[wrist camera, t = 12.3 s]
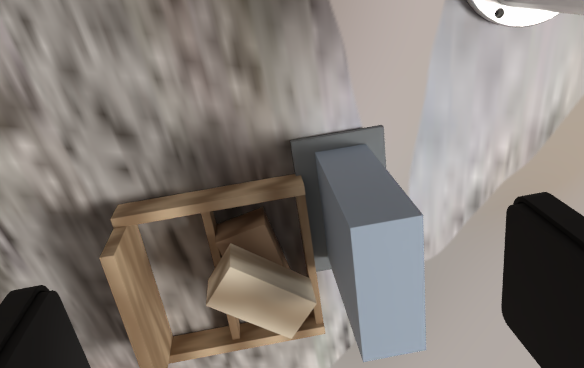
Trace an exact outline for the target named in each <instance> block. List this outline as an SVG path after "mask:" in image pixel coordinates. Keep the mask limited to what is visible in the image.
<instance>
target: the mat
mask: <svg viewBox="0 0 584 368" xmlns="http://www.w3.org/2000/svg"><path fill="white" fill-rule="evenodd" d="M290 143H291V150H292V156H293V163H294V170H295V175H296V176H300V175H301V177H302V180H303V183H304V187H305V194H306V195H305V198H306V205H307V212H308V219H309V226H310V233H311V240H312V247H313V254H314V261H315V268H316V272H318V271H323V270H329V269H332V268H331V265H330V262H329V259H328V254H327V246H326V238H325V230H324V221H323V213H322V205H321V197H320V189H319V181H318V173H317V165H316V157H315V152H320V151H326V150H332V149H338V148H344V147H350V146H356V145H362V144H366V145H367V146H368V147H369V148H370V150H371V151H372V152H373V153H374V155H375V156H376V157H377V158H378V160H379V161H380V162H381V163H382V165H383V166H384V167H385V168H386V159H385V142H384V127H383V126H382V125H379V126H372V127H367V128H361V129H355V130H349V131H343V132H337V133H332V134H326V135H320V136H314V137H308V138H302V139H296V140H291V141H290Z"/></svg>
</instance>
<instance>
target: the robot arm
mask: <svg viewBox="0 0 584 368" xmlns="http://www.w3.org/2000/svg"><path fill="white" fill-rule="evenodd" d="M467 1H468V3H469V4H470V6H471V7H472V8H473V9H474V10H475V11H476V12H477V13H478V14H479V15H481V16H482V17H483V18H485V19H486V20H488V21H491V22H493V23H495V24H498V25H503V26H508V27H526V26H532V25H536V24H539V23H541V22H544V21H547V20H549V19H550V18H552V17H554V16H556V15H557V14H559V13H567V14H577V15H584V0H467ZM495 11H497V13H496V15H495ZM503 270H504V271H503V288H502V313H503V317H504V320H505V322H506V323H507V325H508V326H509V328H510V329H511V330H512V331H513V333H514V334H515V335H516V336H517V338H518V339H519V340H520V341H521V343H522V344H523V345H524V347H525V348H526V349H527V350H528V352H529V353H530V354H531V355H532V357H533V358H534V359H535V360H536V362H537V363H538V364H539V365H540V367H541V368H584V216H582V215H581V214H579V213H578V212H576V211H575V210H574V209H572V208H570V207H569V206H568V205H566V204H565V203H563V202H562V201H560V200H559V199H557V198H556V197H554V196H553V195H551V194H549V193H547V192H542V193H537V194H531V195H525V196H521V197H517V198H516V199H515V201H514V203H513V205H510V206H509V207H508V209H507V215H506V233H505V251H504V269H503ZM0 368H91V367H90V365H89V363H88V361H87V358H86V356H85V354H84V351H83V349H82V347H81V345H80V342H79V340H78V338H77V335H76V333H75V331H74V329H73V326H72V324H71V322H70V319H69V317H68V315H67V313H66V310H65V308H64V306H63V303H62V301H61V299H60V297H59V295H58V293H57V292H56V291H53V290H52V291H49V289H48V288H47V287H46V286H43V285H39V286H34V287H29V288H23V289H18V290H13V291H11V292H10V293H9V294H8V295H7V296H6V297H5V299H4V300H3V301H2V303H1V304H0Z"/></svg>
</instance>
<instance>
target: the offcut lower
mask: <svg viewBox="0 0 584 368" xmlns="http://www.w3.org/2000/svg"><path fill="white" fill-rule="evenodd" d="M230 243H231V244H233V245H236V246H238V247H240V248H242V249H245V250H247V251H249V252H251V253H254V254H256V255H258V256H261V257H263V258H265V259H267V260H270V261H272V262H274V263H276V264H279V265H281V266H283V267H285V268H288V269H290V267H289V265H288V263H287V260H286V258H285V256H284V254H283V251H282V249H281V247H280V245H279V242H278V240H277V238H276V236H275V234H274V231H273V229H272V227H271V225H270V222H269V220H268V218H267V216H266V213H265V211H264V209H263V207H261V208H259V209H256V210H253V211H251V212H248V213H246V214H243V215H240V216H238V217H235V218H232V219H230V220H227V221H225V222H222V223H219V224H217V230H216V245H217V247H218V249H219V251H220V253H221V255H222V256H223V255H224V253H225V251H226V250H227V248H228V247H229V245H230ZM290 270H291V269H290Z"/></svg>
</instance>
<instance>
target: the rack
mask: <svg viewBox="0 0 584 368" xmlns="http://www.w3.org/2000/svg"><path fill="white" fill-rule="evenodd" d="M305 195H306V194H305V187H304V183H303V180H302V177H301V175H300V176H296V175H295V174H291V175H285V176H280V177H274V178H268V179H263V180H257V181H251V182H245V183H240V184H234V185H228V186H222V187H217V188H211V189H205V190H199V191H194V192H188V193H182V194H176V195H171V196H165V197H159V198H154V199H148V200H142V201H136V202H131V203H125V204H119V205H118V206H117V208H116V209H115V211H114V213H113V215H112V217H111V222H112V225H113V228H114V229H113V231H112V233H111V235H110V237H109V239H108V241H107V243H106V245H105V247H104V249H103V251H102V253H101V256H100V258H99V259H100V261H101V264H102V267H103V269H104V272H105V275H106V278H107V280H108V283H109V286H110V288H111V291H112V294H113V296H114V299H115V302H116V305H117V307H118V310H119V313H120V315H121V318H122V321H123V323H124V326H125V329H126V331H127V334H128V337H129V340H130V342H131V345H132V348H133V350H134V353H135V356H136V358H137V361H138V364H139V367H140V368H168V364H169V363H174V362H180V361H185V360H190V359H195V358H201V357H206V356H211V355H216V354H221V353H227V352H232V351H237V350H242V349H248V348H253V347H258V346H263V345H269V344H274V343H279V342H284V341H290V340H295V339H300V338H305V337H311V336H316V335H321V334H325V328H324V323H323V317H322V310H321V303H320V296H319V289H318V282H317V275H316V268H315V261H314V254H313V247H312V240H311V233H310V226H309V219H308V212H307V205H306V198H305ZM295 196H296V203H297V209H298V216H299V223H300V229H301V236H302V242H303V249H304V255H305V262H306V268H307V275H308V278H310V279H311V283H312V287H313V291H314V295H315V299H316V303H317V304H316V305H315V307H314V308H313V310H312V311H311V312H310V314H309V315H308V317H307V318H306V319H305V321H304V322H303V324H302V325H301V326H300V328H299V329H298V331H297V332H296V333H295V335H294V336H293V338H292V339H290V338H288V337H285V336H282V335H280V334H277V333H275V332H272V331H270V330H267V329H265V328H262V327H259V326H257V325H254V324H252V323H249V322H247V323H241V324H240V322H239V318H236V317H234V316H231V315H229V314H226V315H227V319H228V323H229V326H225V327H220V328H215V329H209V330H204V331H199V332H193V333H188V334H183V335H177V336H173V335H172V332H171V328H170V325H169V322H168V319H167V316H166V313H165V310H164V306H163V303H162V300H161V297H160V294H159V291H158V288H157V285H156V281H155V278H154V275H153V272H152V269H151V266H150V263H149V259H148V256H147V253H146V250H145V247H144V244H143V241H142V238H141V234H140V231H139V228H138V225H137V224H142V223H148V222H154V221H159V220H165V219H171V218H176V217H182V216H188V215H193V214H199V213H201V215H202V219H203V223H204V227H205V231H206V235H207V239H208V243H209V247H210V251H211V255H212V259H213V263H214V267H215V268H216V266H217V265H218V263H219V261H220V260H221V258H222V255H221V253H220V251H219V249H218V247H217V245H216V230H217V225H216V221H215V217H214V213H213V211H216V210H222V209H227V208H233V207H239V206H244V205H250V204H256V203H261V202H267V201H273V200H278V199H284V198H290V197H295Z"/></svg>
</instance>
